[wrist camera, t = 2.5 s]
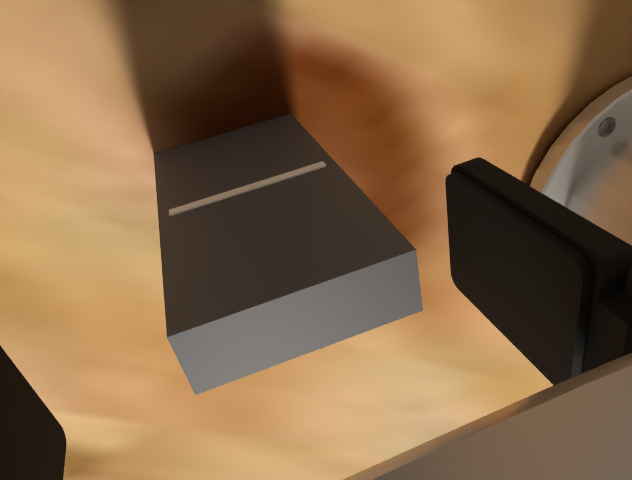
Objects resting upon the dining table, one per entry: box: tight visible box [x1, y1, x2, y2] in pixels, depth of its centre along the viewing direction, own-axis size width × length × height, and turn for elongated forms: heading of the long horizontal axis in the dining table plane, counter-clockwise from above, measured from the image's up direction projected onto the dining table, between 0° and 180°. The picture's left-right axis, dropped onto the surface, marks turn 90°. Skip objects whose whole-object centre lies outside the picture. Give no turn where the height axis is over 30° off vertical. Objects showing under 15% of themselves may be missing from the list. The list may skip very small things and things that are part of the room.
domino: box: [154, 113, 423, 395], centre depth 14 cm, size 2×5×10 cm, turn 102°
